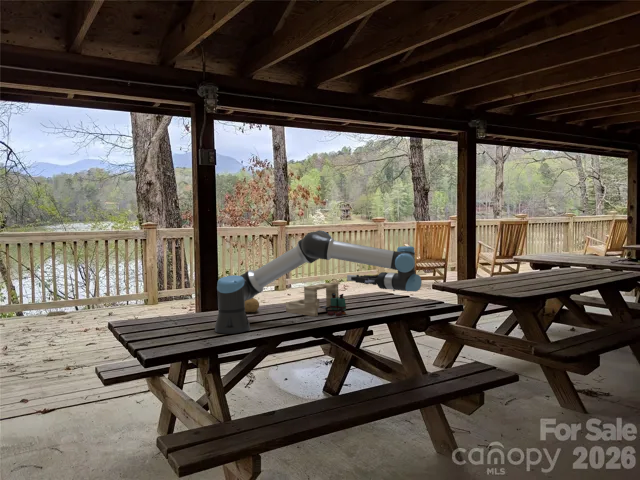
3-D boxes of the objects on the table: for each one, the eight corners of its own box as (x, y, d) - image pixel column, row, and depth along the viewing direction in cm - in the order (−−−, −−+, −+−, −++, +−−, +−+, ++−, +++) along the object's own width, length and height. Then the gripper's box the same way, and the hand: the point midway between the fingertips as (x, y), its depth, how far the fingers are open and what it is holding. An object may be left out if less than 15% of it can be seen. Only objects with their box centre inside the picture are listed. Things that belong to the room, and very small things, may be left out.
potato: (246, 315, 238) (246, 300, 237) (236, 311, 250) (236, 296, 249) (264, 313, 243) (263, 298, 242) (253, 309, 255) (253, 294, 254)
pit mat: (330, 309, 249) (330, 308, 249) (320, 307, 253) (320, 307, 253) (340, 306, 254) (340, 306, 254) (330, 305, 259) (330, 304, 259)
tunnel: (314, 316, 230) (314, 288, 229) (286, 311, 245) (285, 284, 244) (338, 310, 243) (338, 283, 242) (310, 306, 258) (309, 281, 257)
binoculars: (321, 297, 230) (332, 292, 238) (323, 317, 231) (334, 312, 239) (337, 298, 225) (347, 292, 233) (339, 319, 226) (349, 313, 235)
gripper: (379, 291, 205) (339, 287, 221) (396, 287, 214) (356, 283, 231) (379, 274, 205) (339, 271, 221) (396, 271, 214) (356, 268, 230)
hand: (348, 277), depth 226 cm, fingers closed
